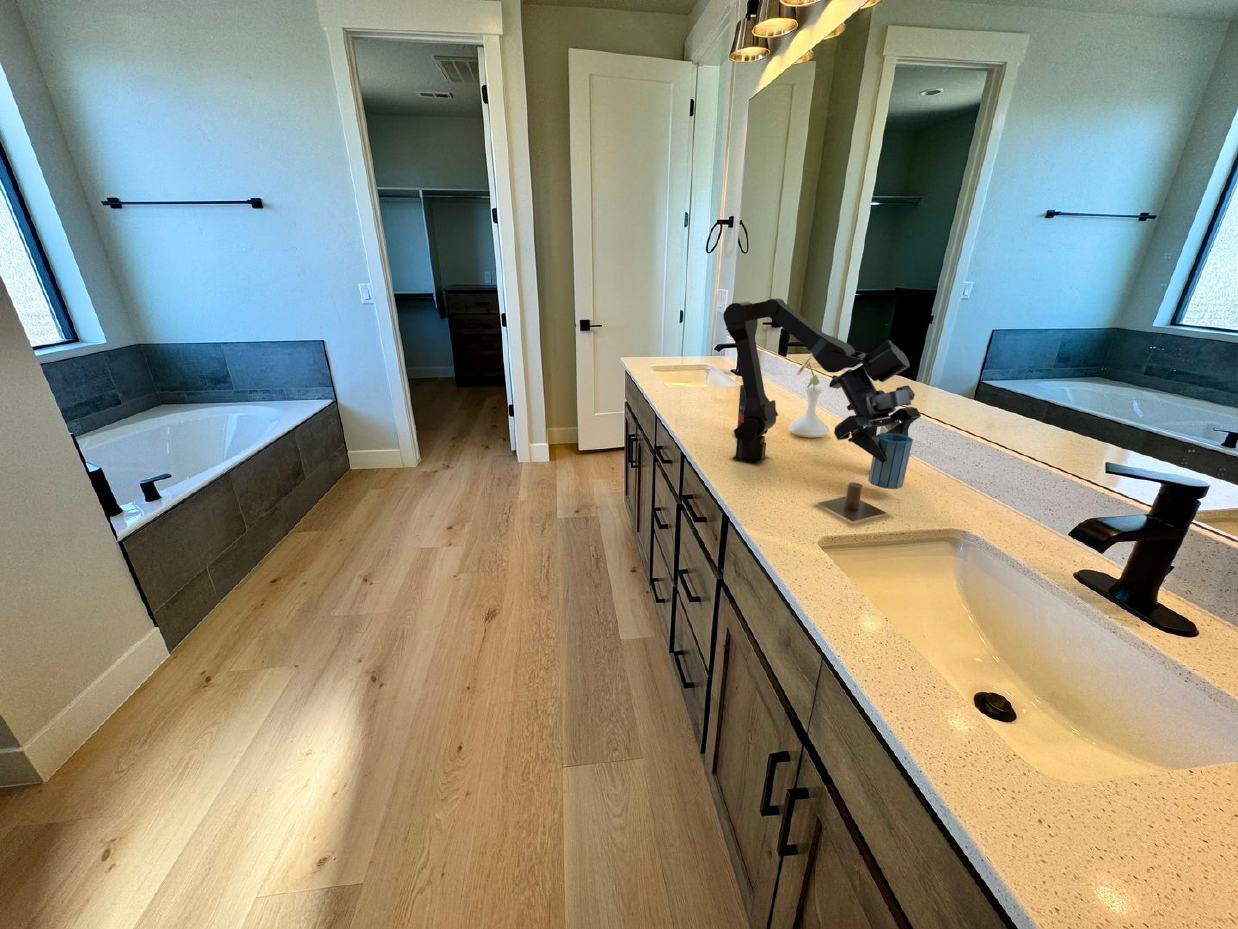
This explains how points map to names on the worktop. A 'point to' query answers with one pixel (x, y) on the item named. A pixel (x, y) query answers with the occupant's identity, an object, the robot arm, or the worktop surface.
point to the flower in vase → (810, 410)
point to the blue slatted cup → (891, 461)
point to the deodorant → (741, 405)
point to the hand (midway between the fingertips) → (896, 459)
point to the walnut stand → (852, 505)
